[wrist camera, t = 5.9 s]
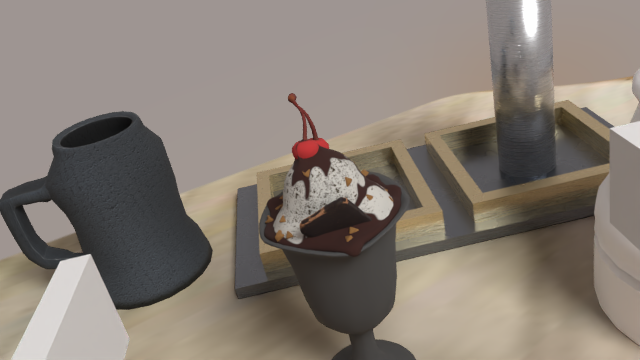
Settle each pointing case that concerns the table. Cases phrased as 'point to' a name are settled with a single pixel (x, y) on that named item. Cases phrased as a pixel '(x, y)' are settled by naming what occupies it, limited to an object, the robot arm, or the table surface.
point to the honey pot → (617, 259)
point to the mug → (115, 210)
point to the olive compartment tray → (469, 162)
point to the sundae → (340, 242)
